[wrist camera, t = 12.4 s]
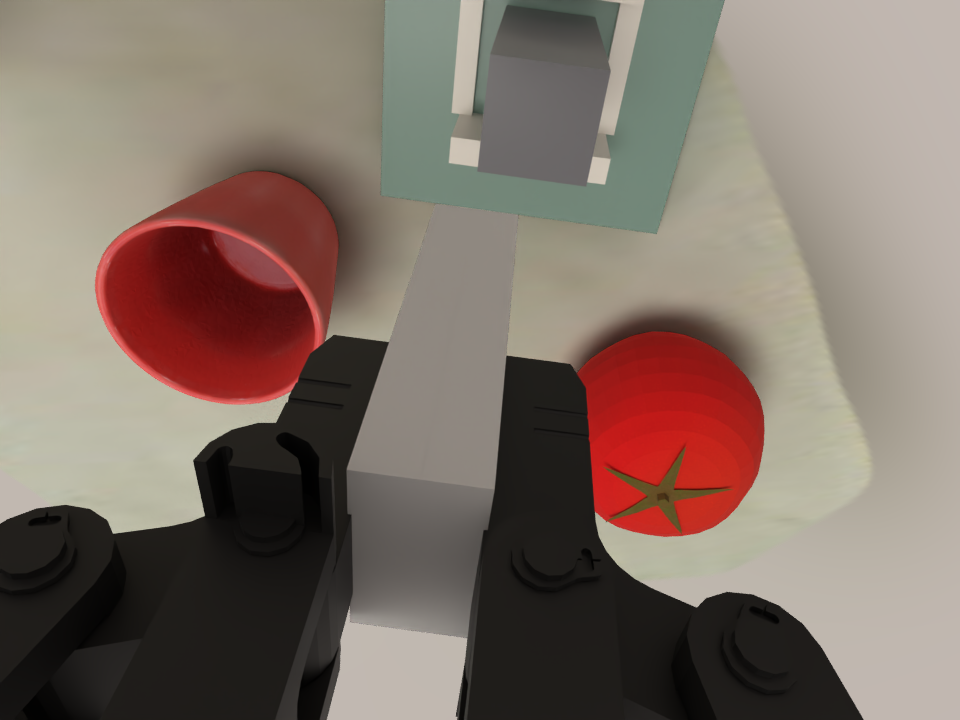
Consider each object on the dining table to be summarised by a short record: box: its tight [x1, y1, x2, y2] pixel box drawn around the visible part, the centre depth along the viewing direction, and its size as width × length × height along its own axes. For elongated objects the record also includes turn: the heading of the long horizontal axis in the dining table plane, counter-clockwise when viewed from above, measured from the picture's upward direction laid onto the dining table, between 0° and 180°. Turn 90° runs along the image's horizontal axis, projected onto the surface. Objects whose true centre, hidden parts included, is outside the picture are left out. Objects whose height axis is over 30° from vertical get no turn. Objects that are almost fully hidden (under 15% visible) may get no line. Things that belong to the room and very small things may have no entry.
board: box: [381, 0, 725, 234], centre depth 29 cm, size 20×15×6 cm
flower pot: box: [95, 171, 339, 404], centre depth 36 cm, size 11×11×10 cm
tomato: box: [577, 332, 764, 537], centre depth 40 cm, size 12×12×10 cm
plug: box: [477, 5, 611, 187], centre depth 27 cm, size 5×4×10 cm
